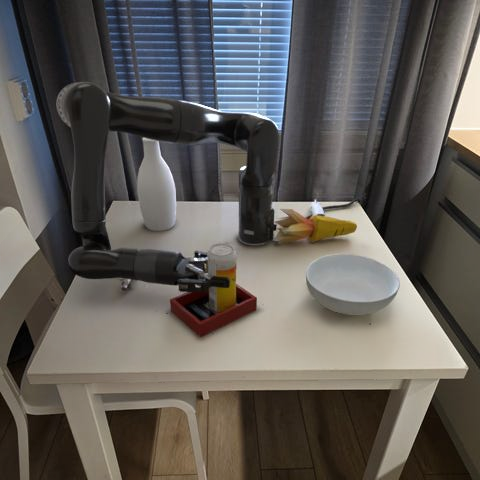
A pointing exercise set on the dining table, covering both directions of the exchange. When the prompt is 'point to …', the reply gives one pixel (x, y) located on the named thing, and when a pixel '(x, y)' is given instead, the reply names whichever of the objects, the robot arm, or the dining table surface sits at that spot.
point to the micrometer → (126, 284)
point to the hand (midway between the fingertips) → (232, 274)
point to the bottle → (156, 189)
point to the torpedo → (317, 208)
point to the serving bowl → (351, 283)
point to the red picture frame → (204, 319)
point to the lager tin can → (222, 266)
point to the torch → (310, 227)
